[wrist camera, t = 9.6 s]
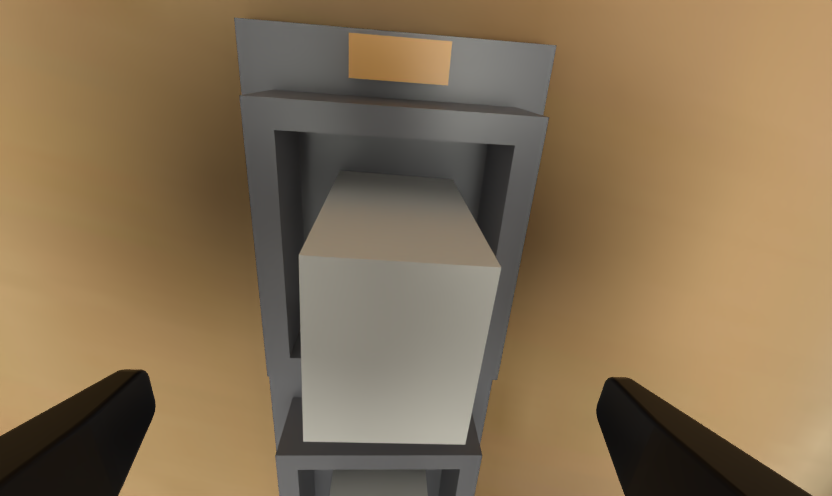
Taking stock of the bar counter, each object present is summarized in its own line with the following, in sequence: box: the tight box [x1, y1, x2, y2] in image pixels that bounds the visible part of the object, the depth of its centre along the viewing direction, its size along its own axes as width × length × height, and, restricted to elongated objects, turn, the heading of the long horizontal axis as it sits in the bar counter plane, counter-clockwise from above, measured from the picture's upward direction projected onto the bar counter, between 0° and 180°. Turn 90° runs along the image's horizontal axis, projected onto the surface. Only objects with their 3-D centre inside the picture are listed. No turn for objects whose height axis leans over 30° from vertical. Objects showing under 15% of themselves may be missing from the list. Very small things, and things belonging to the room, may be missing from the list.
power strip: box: [234, 18, 556, 496], centre depth 17 cm, size 26×10×4 cm, turn 176°
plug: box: [299, 171, 501, 445], centre depth 12 cm, size 5×4×7 cm
